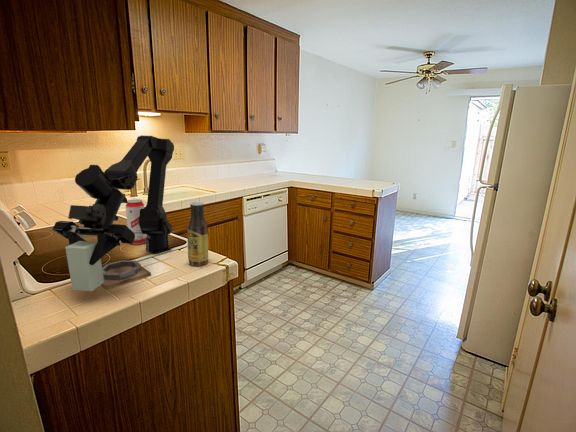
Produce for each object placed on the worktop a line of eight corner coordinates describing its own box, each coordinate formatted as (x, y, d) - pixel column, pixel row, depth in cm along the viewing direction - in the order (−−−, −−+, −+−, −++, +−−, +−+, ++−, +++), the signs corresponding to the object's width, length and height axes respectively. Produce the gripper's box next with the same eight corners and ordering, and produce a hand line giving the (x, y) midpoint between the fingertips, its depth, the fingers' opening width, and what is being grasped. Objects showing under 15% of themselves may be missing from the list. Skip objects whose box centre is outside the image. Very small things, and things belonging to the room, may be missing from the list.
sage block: (86, 281, 80) (79, 240, 78) (104, 282, 80) (98, 242, 77) (72, 289, 76) (65, 247, 73) (91, 291, 76) (85, 248, 73)
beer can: (150, 242, 118) (146, 201, 113) (133, 246, 113) (128, 203, 109) (143, 238, 122) (140, 198, 118) (126, 242, 117) (122, 200, 113)
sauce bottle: (184, 262, 101) (181, 202, 96) (201, 257, 105) (199, 200, 100) (195, 269, 96) (192, 206, 91) (213, 263, 101) (210, 203, 96)
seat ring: (132, 262, 97) (131, 257, 97) (145, 272, 91) (145, 267, 90) (96, 271, 90) (95, 267, 90) (108, 283, 84) (107, 278, 83)
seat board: (134, 263, 99) (134, 260, 99) (151, 275, 91) (150, 272, 91) (91, 274, 90) (91, 271, 90) (106, 289, 83) (105, 285, 82)
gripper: (52, 189, 77) (18, 247, 69) (123, 193, 75) (96, 253, 67) (80, 212, 86) (54, 265, 78) (144, 216, 84) (123, 271, 77)
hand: (80, 263), depth 75 cm, fingers closed on sage block, 5 cm apart
